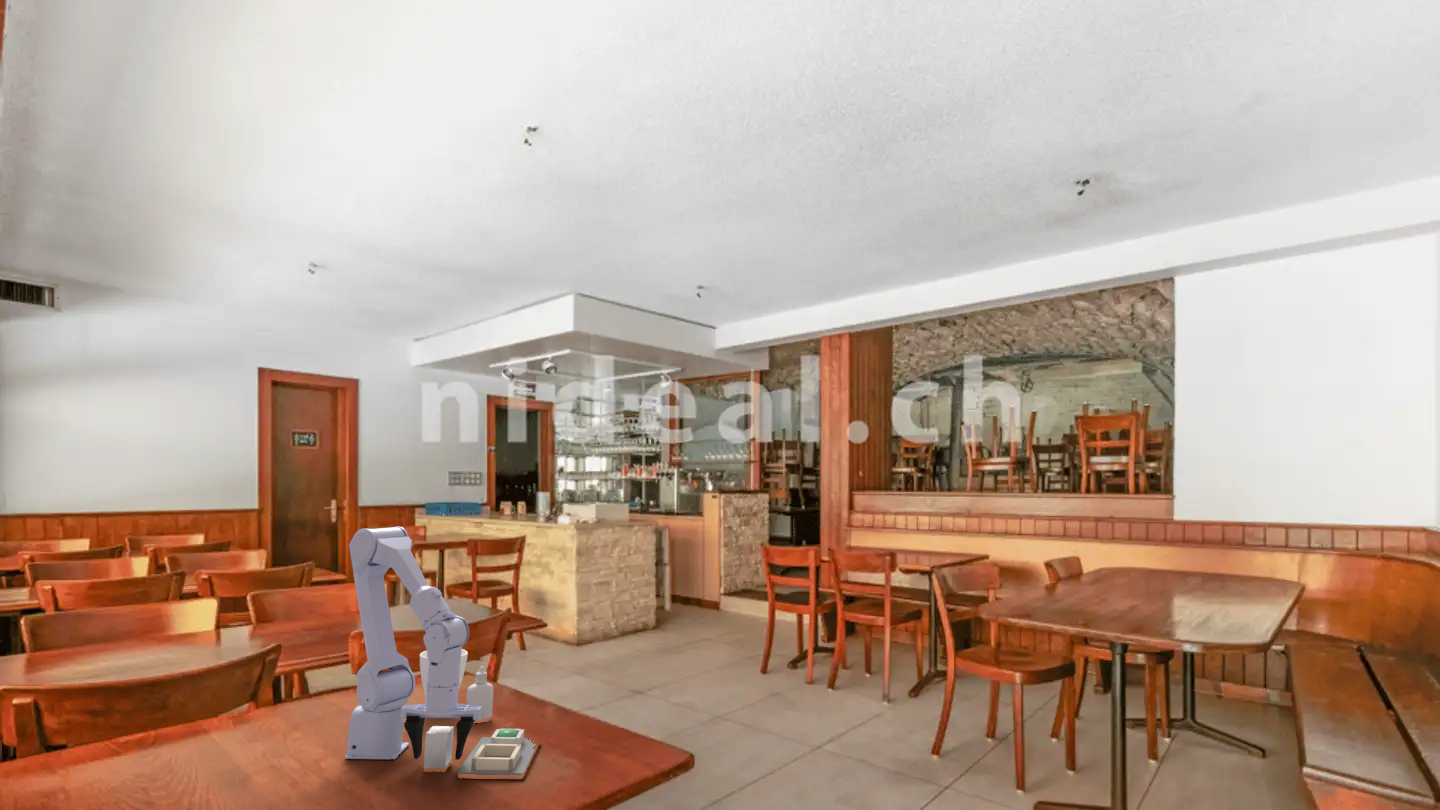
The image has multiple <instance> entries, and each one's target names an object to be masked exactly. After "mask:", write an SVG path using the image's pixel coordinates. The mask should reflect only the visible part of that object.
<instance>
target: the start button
mask: <svg viewBox="0 0 1440 810" xmlns="http://www.w3.org/2000/svg"><path fill="white" fill-rule="evenodd" d="M502 729H503V730H501V731H500V737H516V730H515V729H516V728H509V727H508V728H502Z"/></svg>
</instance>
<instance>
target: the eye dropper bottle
mask: <svg viewBox="0 0 1440 810" xmlns="http://www.w3.org/2000/svg"><path fill="white" fill-rule="evenodd" d="M487 680H488V672H487V671H485V668H484V666H483V665H481V666H480V667H479V670H478V671H477V672H475V680H474V681H475V682H474V683H472V684H470V685H469V686H468V687H467V690H466V704H465V705H470V706H481V717H480V718H479V720H483V719H487V718H490V717H492V718H493V706H494V705H493V704H494V685H493V684H492V683H490V682H488V681H487ZM475 721H476V720H475Z"/></svg>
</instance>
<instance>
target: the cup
mask: <svg viewBox="0 0 1440 810" xmlns="http://www.w3.org/2000/svg"><path fill="white" fill-rule="evenodd" d="M468 655H469V653H468V650H465V649H463V648H462V649H461V663H460V678H459V688H460V687H461V684H462V682H463V679H464V674H465V670H466V666H467V664H468V663H467V662H468ZM419 670H420V678H421V684H422V687H423V694H424V699H425V701H424V702H426V698H427V684H428V670H429V661H428V658H427V650H424V651H421V652H420V654H419Z"/></svg>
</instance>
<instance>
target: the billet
mask: <svg viewBox="0 0 1440 810" xmlns="http://www.w3.org/2000/svg"><path fill="white" fill-rule="evenodd" d="M454 729H455V726H452V725H451V726H449V725H447V726H445V725H443V726H441V725H432V727H430V728H429V729H428V730H427V731H426V733H425V740H424V756H423V768H424V769H425V768H445V767H446V766H447V765H448V763H449V762H450V761H451V759H452V758H453V746H454V745H453V744H454V743H453V742H454V731H455V730H454ZM451 762H452V761H451ZM423 768H422V769H423Z"/></svg>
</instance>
